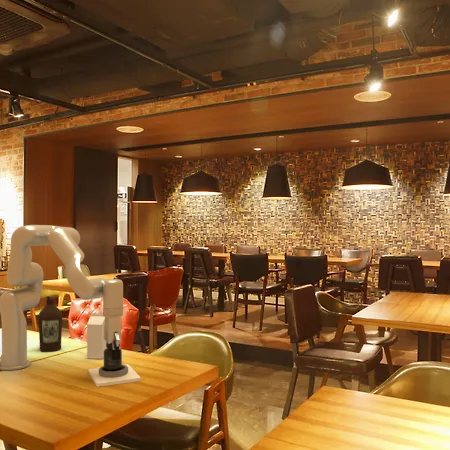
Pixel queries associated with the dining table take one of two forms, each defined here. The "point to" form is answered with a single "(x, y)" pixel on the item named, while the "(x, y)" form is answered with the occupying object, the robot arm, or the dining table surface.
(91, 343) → the milk carton
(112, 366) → the supplement bottle
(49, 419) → the dining table surface
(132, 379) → the dock
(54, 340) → the olive oil
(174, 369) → the dining table surface
